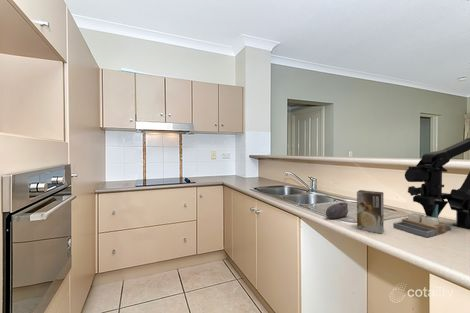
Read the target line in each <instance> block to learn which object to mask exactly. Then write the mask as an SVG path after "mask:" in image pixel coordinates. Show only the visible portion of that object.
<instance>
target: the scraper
mask: <svg viewBox="0 0 470 313" xmlns="http://www.w3.org/2000/svg"><path fill="white" fill-rule="evenodd" d="M431 217H434V218H439V216H438V205H436V208H435V210H434V212H433V214H432V216H431ZM440 223H441V222H440ZM441 224H443V223H441ZM444 224H445V225H447V227H446V232H448V231H451V227H452V226H451V225H449V224H446V223H444Z"/></svg>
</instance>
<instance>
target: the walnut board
mask: <svg viewBox="0 0 470 313" xmlns="http://www.w3.org/2000/svg"><path fill="white" fill-rule="evenodd" d="M401 221H402V222H406V223H410V224H414V225H417V226H421V227H425V228H429V229H433V230H435V236H438V235H441V234H444V233H445V234H446V233H447V231H446V227H447V225H448V224H446V223H442V224H441V222H439V225H435V226H432V225H428V224H424V223H422V222H416V221H412V220H408V217H406V218H402V219H401ZM445 224H446V225H445Z"/></svg>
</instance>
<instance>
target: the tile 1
mask: <svg viewBox="0 0 470 313" xmlns="http://www.w3.org/2000/svg"><path fill="white" fill-rule="evenodd" d="M407 214H408V215H407V218H408V220H412V221H416V222H422V217H424V216H425V214H421V213H416V212H411V213H407Z"/></svg>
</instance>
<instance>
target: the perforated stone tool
mask: <svg viewBox="0 0 470 313" xmlns="http://www.w3.org/2000/svg"><path fill="white" fill-rule="evenodd" d="M348 213H349V208H348V203H347V202H338V203H337V202H336V203H334V204H332V205H329V207H327V209H326V211H325V216H326V217H327V218H328V219H334V220H335V219H340V218H341V219H342V218H344V217H346V216H348Z"/></svg>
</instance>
